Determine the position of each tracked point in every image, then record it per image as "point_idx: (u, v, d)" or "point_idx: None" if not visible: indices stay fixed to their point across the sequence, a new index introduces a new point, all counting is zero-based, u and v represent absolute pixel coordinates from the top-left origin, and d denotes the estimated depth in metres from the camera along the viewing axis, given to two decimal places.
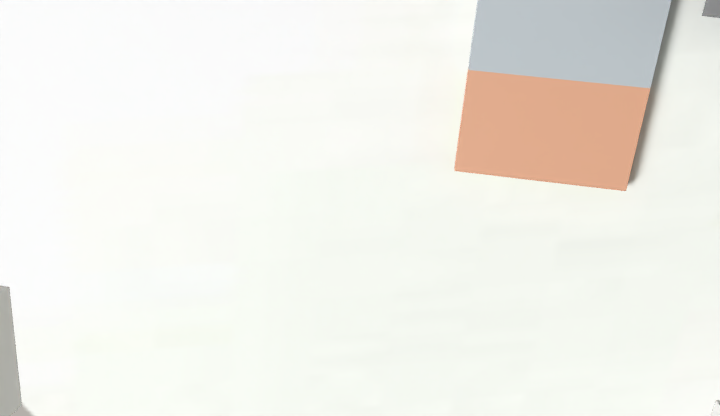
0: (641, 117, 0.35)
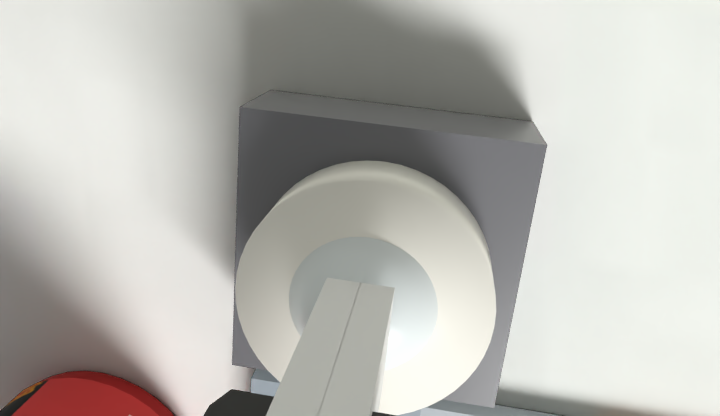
0: None
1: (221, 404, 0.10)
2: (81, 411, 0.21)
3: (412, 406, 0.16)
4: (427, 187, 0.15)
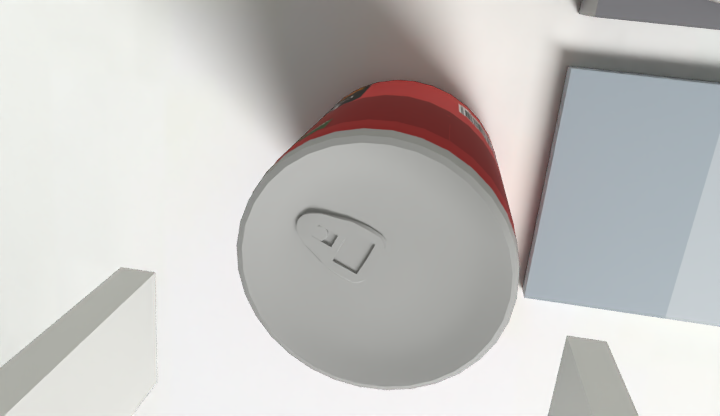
0: None
1: None
2: (425, 90, 0.24)
3: None
4: None
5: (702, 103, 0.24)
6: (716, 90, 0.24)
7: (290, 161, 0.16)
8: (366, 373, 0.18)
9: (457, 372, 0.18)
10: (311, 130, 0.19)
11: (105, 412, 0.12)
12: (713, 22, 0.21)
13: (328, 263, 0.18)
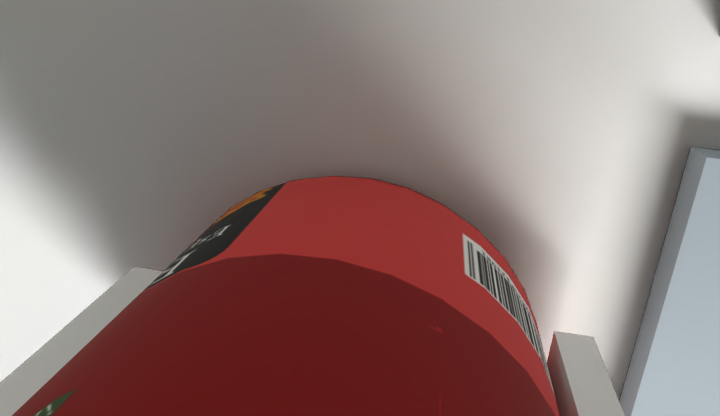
0: None
1: None
2: (390, 213, 0.11)
3: None
4: None
5: None
6: None
7: None
8: None
9: None
10: None
11: None
12: None
13: None
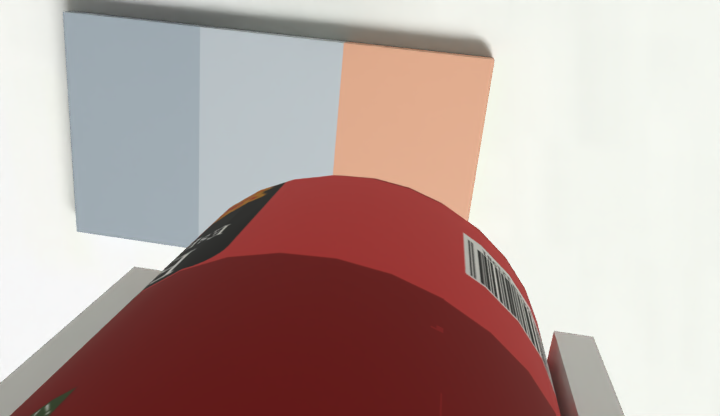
0: (384, 50, 0.25)
1: None
2: (390, 212, 0.11)
3: None
4: None
5: (178, 43, 0.26)
6: (186, 31, 0.26)
7: None
8: None
9: None
10: None
11: None
12: None
13: None
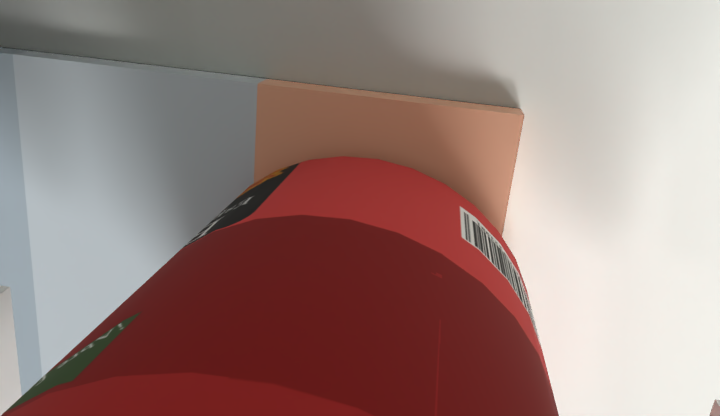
0: (327, 96, 0.14)
1: None
2: (395, 186, 0.12)
3: None
4: None
5: None
6: None
7: None
8: None
9: None
10: (82, 345, 0.07)
11: None
12: None
13: None
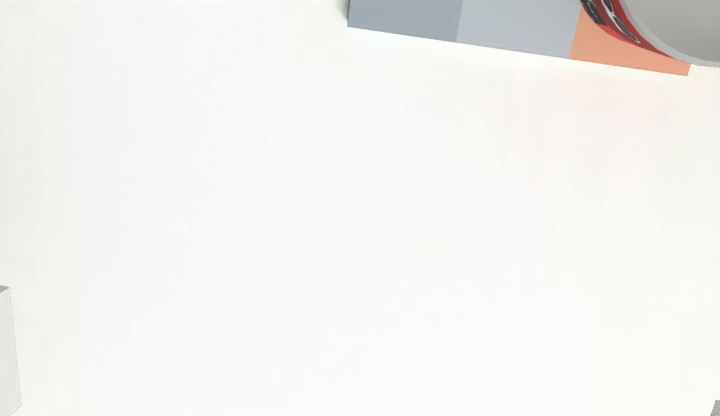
0: None
1: None
2: None
3: None
4: None
5: None
6: None
7: None
8: (711, 52, 0.22)
9: None
10: None
11: None
12: None
13: None
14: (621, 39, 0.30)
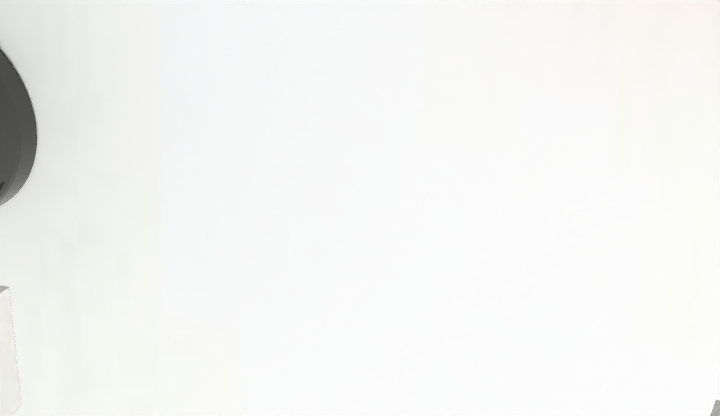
0: None
1: None
2: None
3: None
4: None
5: None
6: None
7: None
8: None
9: None
10: None
11: None
12: None
13: None
14: None
